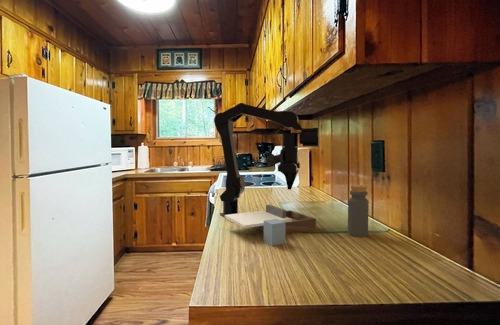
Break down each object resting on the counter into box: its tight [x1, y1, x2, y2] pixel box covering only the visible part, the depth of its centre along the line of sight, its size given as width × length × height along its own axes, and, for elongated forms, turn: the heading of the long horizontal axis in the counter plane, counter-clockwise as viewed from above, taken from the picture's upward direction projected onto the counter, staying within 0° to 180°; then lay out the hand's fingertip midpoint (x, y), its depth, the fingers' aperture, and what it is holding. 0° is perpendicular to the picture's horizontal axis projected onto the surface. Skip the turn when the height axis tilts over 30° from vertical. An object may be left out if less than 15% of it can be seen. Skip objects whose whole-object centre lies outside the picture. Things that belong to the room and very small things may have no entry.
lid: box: [224, 204, 292, 229], centre depth 95 cm, size 14×16×3 cm
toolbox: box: [256, 209, 317, 235], centre depth 99 cm, size 14×16×4 cm
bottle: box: [347, 184, 370, 238], centre depth 91 cm, size 6×6×15 cm
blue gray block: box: [263, 219, 286, 247], centre depth 84 cm, size 4×4×6 cm
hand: (289, 189), depth 110 cm, fingers closed
